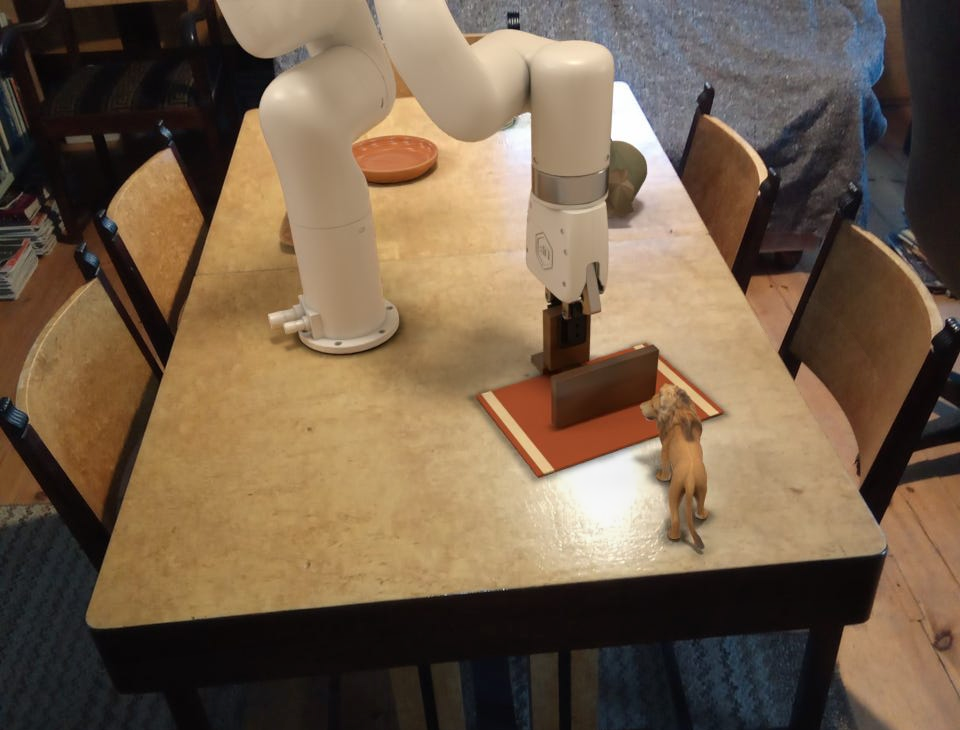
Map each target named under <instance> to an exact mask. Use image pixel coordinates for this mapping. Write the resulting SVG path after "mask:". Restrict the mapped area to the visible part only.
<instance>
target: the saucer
mask: <svg viewBox="0 0 960 730" xmlns="http://www.w3.org/2000/svg"><path fill="white" fill-rule="evenodd" d="M352 153H353V155H354V158H355V160H356V162H357V163H358V165H359V167H360V168H361V170H362V172H363V174H364V176H365V178H366V181H367V182H371V183H378V184H392V183H393V184H394V183H401V182H407V181H411V180H414V179H417V178H418V177H421V176H423V175H424V174H425V173H426V172H427V171H429V169H430V168H432V166H433V165H434V164H435V163H436V162H437V160H438V157H439V148H438V146H437V145H436V144H435V142H433V141H432V140H429V139H427V138H423V137H420V136H414V135H406V134H405V135H403V134H393V135H381V136H375V137H371V138H367V139H363V140H360V141H358V142H354V143H353V144H352Z"/></svg>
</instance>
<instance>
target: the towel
mask: <svg viewBox="0 0 960 730" xmlns="http://www.w3.org/2000/svg"><path fill="white" fill-rule="evenodd" d="M649 345H650V344H648V343H646V342H645V343H641V344H637V345H635V346H631V347H629V348H626V349H623V350H620V351H616V352H613V353H609V354H606V355H603V356H600V357H599V356H598V357H596V358H594V359H590V361H589V362H585V363H582V364H581V365H582V366H585V365H588V364H592V363H595V362H598V361H601V360H604V359H608V358H611V357H614V356H617V355H620V354H624V353H627V352H630V351H633V350H636V349H640V348H643V347H646V346H649ZM556 374H559V373H558V372H557V371H556V372H553V373H550V374H547V375H542V374H541V375H538V376H534V377H531V378H528V379H526V380H525V379H524V380H522V381H519V382H516V383H512V384H509V385H505V386H502V387H499V388H496V389H493V390H489V391H486V392H483V393H480V394H476V395H475V397H476V400H477V401H478V403H480V405H481V406H482V407H483V408H484V410H485V411H486V412H487V414H488V415H489V416H490V417H491V419H492V420H493V421H494V422H495V424H496V425H497V427H498V428H499V429H500V430H501V432H502V433H503V434H504V436H505V437H506V438H507V439H508V441H509V442H510V443H511V445H512V446H513V448H514V449H516V451H517V452H518V453H519V455H520V456H521V458H522V459H523V461H525V463H526V464H527V465H528V466H529V467H530V470H532V472H533V473H534V474H535V476H536V477H537V478H541V477H544V476H547V475H550V474H552V473H556V472H558V471H561V470H565V469H568V468H570V467H573V466H576V465H579V464H582V463H585V462H588V461H590V460H593V459H596V458H600V457H601V456H605V455H608V454H610V453H611V454H612V453H613V452H617V451H619V450H622V449H626V448H628V447H631V446H633V445H636V444H640V443H642V442H643V443H644V442H645V441H648V440H651V439H654V438H657V437H659V430H658V429H657V427H656V424H657V421H655V420H652V421H648V420H647V419H646V416H644V415H643V413H642V409H641V408H640V405H641V404H642V403H644V402H647V401H649V400H651V399H652V398H653V397H654V396H653V397H650V398H647V399H644V400H641V401H638V402H635V403H632V404H629V405H626V406H623V407H620V408H617V409H614V410H611V411H608V412H604V413H601V414H598V415H595V416H592V417H589V418H586V419H583V420H580V421H577V422H574V423H571V424H568V425H565V426H562V427H559V428H556V427H555V426H554V425H553V424H552V422H551V376H553V375H556ZM664 384H670V385H677V386H678V387H679V388H682V389H684V390H685V391H686V392H687V395H689V396H690V400H691V401H692V402H693V403H694V405H695V408H696V410H697V415H698V416H699V417H700V419H701V421H702V422H703V421H706V420H709V419H712V418H714V417H717V416H721V415H723V414H724V413H725V412H724V410H723V409H722V408H721V407H720V406H719V405H717V404H716V403H715V402H714V401H713V400H712V399H711V398H710V397H708V396H707V395H706V394H705V393H704V392H703V391H701V390H700V389H699V388H698V387H697V386H696V385H695V384H693V383H692V382H691V381H690V380H689V379H687V377H685V376H684V375H683V374H682V373H681V372H680V371H679V370H678V369H676V368H675V367H674V366H673V365H672V364H671V363H670V362H669V361H668V360H666V359H665V358H664V357H663V356H661V355H660V354H659V358H658V370H657V381H656V393H655V395H657V394H660V389H661V388H662V387H663V385H664Z"/></svg>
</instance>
